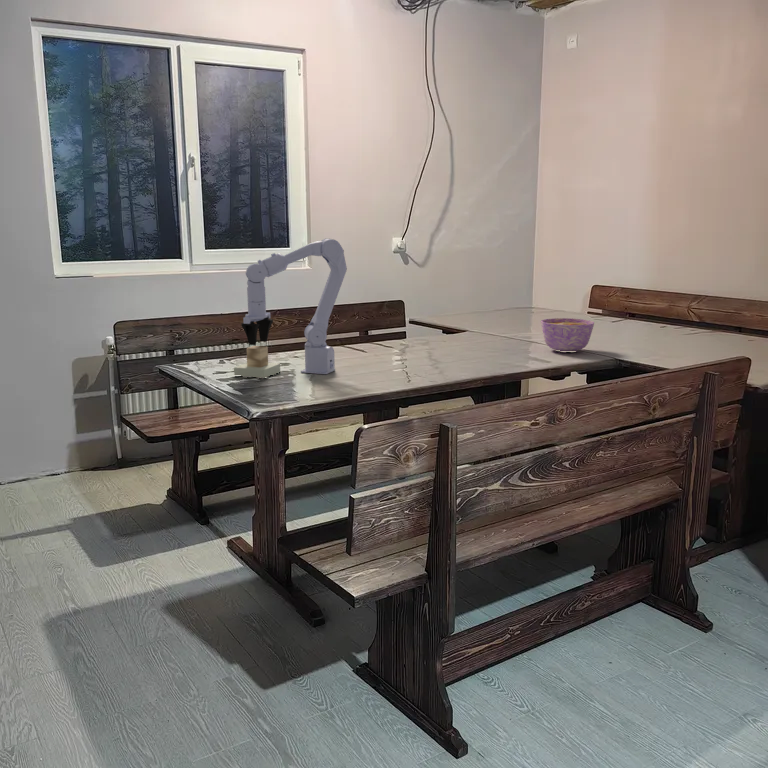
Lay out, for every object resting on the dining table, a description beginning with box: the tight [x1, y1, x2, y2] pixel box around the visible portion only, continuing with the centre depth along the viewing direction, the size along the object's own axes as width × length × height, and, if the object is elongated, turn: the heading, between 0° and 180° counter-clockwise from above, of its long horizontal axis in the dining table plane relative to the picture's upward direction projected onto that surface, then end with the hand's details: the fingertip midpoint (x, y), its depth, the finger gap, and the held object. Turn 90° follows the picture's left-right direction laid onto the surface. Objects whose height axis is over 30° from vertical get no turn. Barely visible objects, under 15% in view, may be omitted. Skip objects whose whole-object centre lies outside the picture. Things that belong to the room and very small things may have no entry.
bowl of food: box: [540, 317, 595, 352], centre depth 295 cm, size 20×20×12 cm
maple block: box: [246, 345, 269, 367], centre depth 251 cm, size 5×5×6 cm
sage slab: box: [233, 362, 281, 378], centre depth 252 cm, size 11×11×3 cm
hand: (258, 343), depth 251 cm, fingers open, 7 cm apart
